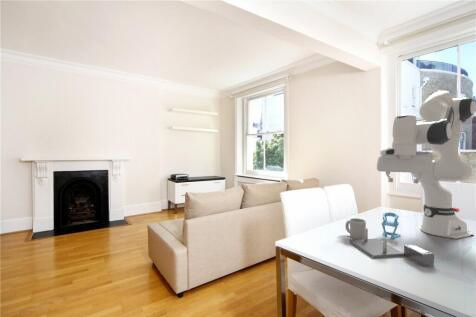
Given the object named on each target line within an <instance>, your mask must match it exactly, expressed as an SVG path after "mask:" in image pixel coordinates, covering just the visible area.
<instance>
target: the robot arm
mask: <svg viewBox="0 0 476 317" xmlns="http://www.w3.org/2000/svg"><path fill="white" fill-rule="evenodd" d="M475 111H476V101H475V100H474V99H473V98H471V97H470V98H469V97H462V98H454V96H453V95H452V94H451V93H450V92H449V91H446V90H443V91H437V92H434V93H433V94H432V95H430V96H429V97H427V98H426V99H425V101H424V102H423V103H422V104H421V105H420V107H419V115H420V117H421V119H423V120H424V121H426V122H419V123H418V122H417V116H416V114H412V113H411V114H402V115H397V116H396V117H395V118H394V120H393V126H392V139H393V141H392V144H391V147H388V148H386V149H383V150H380V151H379V152H380V155H379V157H378V158H377V162H376V163H377V164H376V170H377V171H378V172H382V173H383V172H385V176H386V177H387V178H388V179H387V180H388V181H387V182H388V183H393V182H394V178H393V177H392V176H390V175H391V173H408V174H409V173H410V174H411V176H413V182H412V183H413V184H419V183H420V184H421V186H422V188H423V193H424V204H423V212H424V213H423V217H422V222H421V225H420V231H421V232H423V233H426V234H429V235H433V236H437V237H445V238H449V239H460V238H461V239H462V238H466V237H472V236H471V235H473V236H474V234H475V233H473V232H472V231H470V230H468V226H467V223H466V222H465V220H463V219H462V218H460V217H459V216H458V215H456V213H459V212H460V208H457V207H453V194H452V192H451V191H450V190H449V189H448V188H446V187H444V186H442V185H441V183H440V181H442V182H456V183H457V182H466V181H468V180H469V179H470V178H471V177H472V173H473V171H472V170H473V169H472V166H471V165H470V164H469V163H468V162H466V161H465V160H464V159H463V158H462V157H461V156H460V154H459V146H460V142H461V141H460V140H461V137H462V123H465V122H466V121H467V120H469V119H470V118H471V117H472V116H474V114H475ZM418 145H430V149H431V151H432V152H430V151H421V150H420V151H418V150H417V149H418V147H417V146H418ZM433 153H434V154H436V155H438V156H440V159H434V154H433Z"/></svg>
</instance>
